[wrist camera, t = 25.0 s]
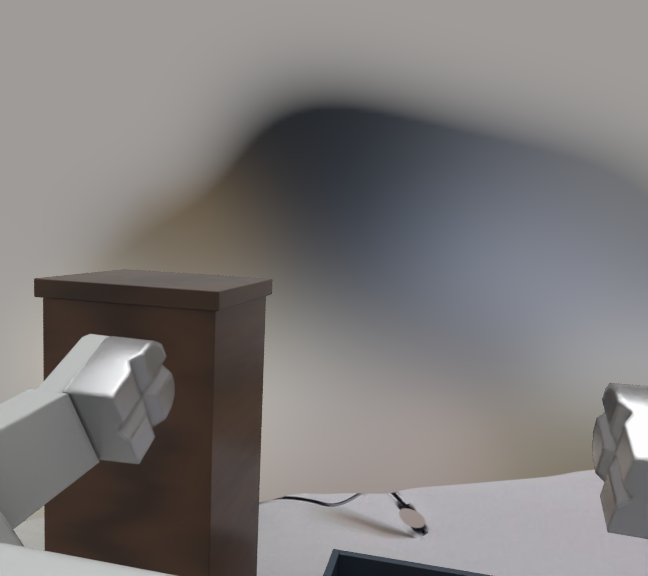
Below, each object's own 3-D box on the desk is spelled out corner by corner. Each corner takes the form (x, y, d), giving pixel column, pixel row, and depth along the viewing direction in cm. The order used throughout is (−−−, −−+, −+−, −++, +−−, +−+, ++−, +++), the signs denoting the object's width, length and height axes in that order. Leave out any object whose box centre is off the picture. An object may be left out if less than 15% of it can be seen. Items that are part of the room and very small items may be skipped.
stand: (37, 724, 33) (33, 278, 30) (121, 625, 41) (124, 269, 39) (207, 769, 31) (219, 291, 28) (259, 655, 39) (272, 278, 36)
